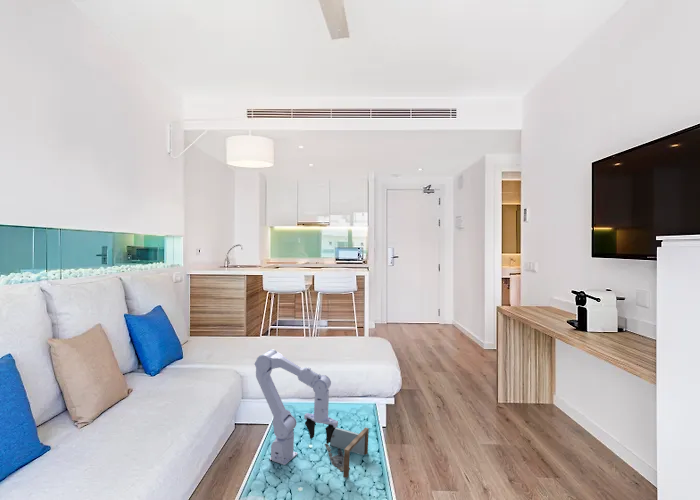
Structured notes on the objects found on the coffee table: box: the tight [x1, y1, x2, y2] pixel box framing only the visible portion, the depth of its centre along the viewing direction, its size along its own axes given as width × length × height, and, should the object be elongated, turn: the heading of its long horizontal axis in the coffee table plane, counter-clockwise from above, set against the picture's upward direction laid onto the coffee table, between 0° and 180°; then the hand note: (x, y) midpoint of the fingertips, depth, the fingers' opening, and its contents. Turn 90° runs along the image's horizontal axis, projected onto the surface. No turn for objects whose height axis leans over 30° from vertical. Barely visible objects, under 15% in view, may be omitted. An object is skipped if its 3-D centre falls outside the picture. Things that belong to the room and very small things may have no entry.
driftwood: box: [324, 443, 351, 473], centre depth 168 cm, size 21×7×2 cm, turn 14°
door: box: [329, 427, 365, 456], centre depth 174 cm, size 16×2×8 cm, turn 64°
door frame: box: [342, 427, 370, 479], centre depth 164 cm, size 20×2×11 cm, turn 154°
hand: (320, 440), depth 164 cm, fingers open, 7 cm apart
